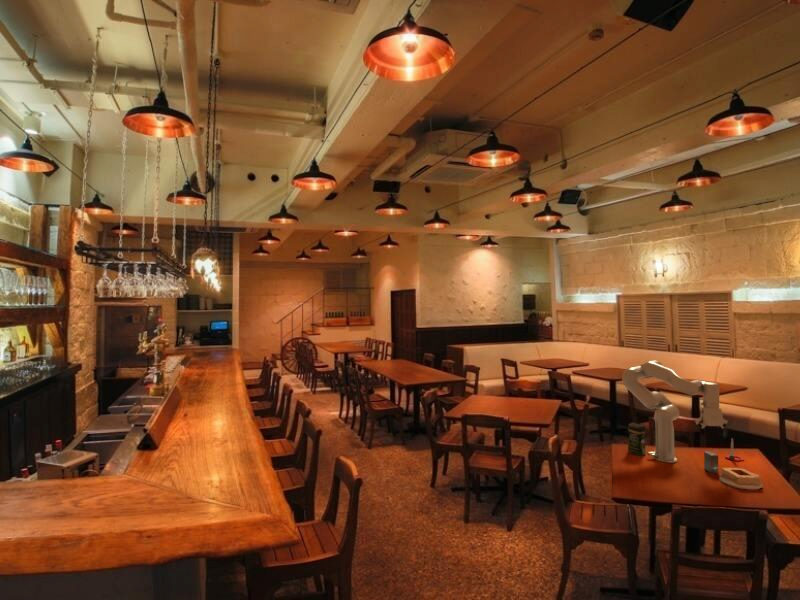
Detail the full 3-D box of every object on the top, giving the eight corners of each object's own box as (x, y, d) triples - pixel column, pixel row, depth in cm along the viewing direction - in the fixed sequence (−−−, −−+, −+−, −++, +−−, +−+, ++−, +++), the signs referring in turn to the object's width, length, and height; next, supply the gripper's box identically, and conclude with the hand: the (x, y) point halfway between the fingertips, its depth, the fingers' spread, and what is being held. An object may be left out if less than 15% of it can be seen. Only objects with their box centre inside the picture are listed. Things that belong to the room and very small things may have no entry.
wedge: (710, 473, 252) (710, 455, 251) (704, 469, 257) (704, 451, 257) (718, 473, 251) (718, 455, 251) (711, 469, 257) (711, 451, 257)
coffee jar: (625, 452, 286) (625, 422, 286) (633, 450, 290) (633, 421, 290) (640, 456, 278) (639, 426, 278) (648, 454, 281) (647, 424, 281)
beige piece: (734, 490, 230) (734, 479, 230) (711, 475, 248) (711, 465, 248) (771, 490, 229) (771, 479, 229) (745, 476, 247) (745, 466, 247)
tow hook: (730, 456, 279) (723, 458, 274) (731, 435, 279) (723, 436, 274) (746, 460, 272) (739, 462, 267) (747, 438, 272) (739, 440, 267)
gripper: (699, 406, 251) (699, 437, 251) (731, 406, 250) (731, 437, 250) (691, 403, 258) (691, 433, 258) (722, 403, 257) (722, 433, 258)
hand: (711, 435), depth 254 cm, fingers open, 9 cm apart
